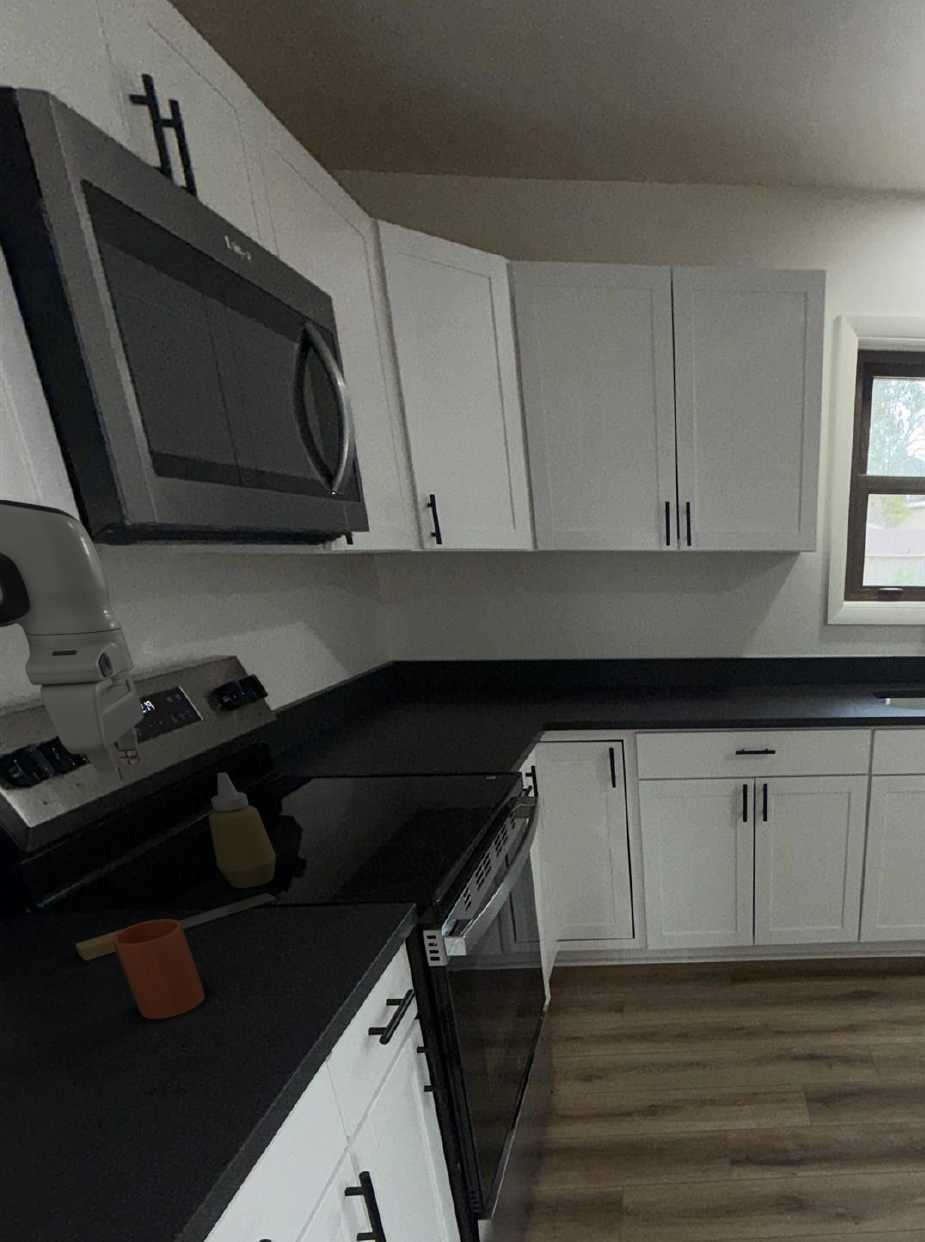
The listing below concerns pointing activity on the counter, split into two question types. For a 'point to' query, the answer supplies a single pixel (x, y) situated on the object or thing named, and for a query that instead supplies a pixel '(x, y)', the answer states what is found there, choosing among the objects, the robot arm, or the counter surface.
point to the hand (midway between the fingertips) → (123, 772)
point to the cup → (159, 968)
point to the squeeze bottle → (240, 838)
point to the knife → (106, 945)
